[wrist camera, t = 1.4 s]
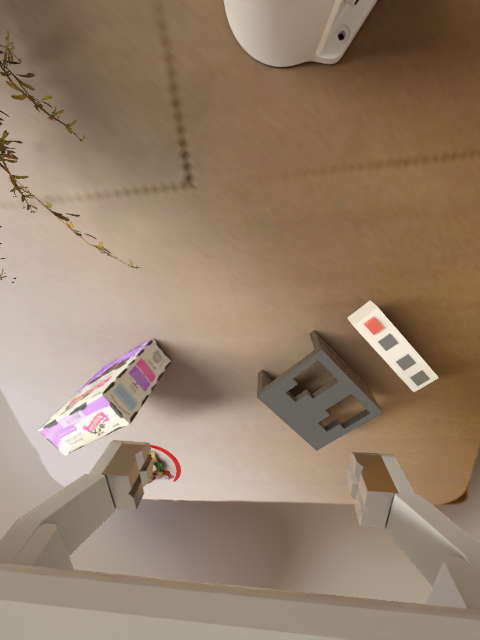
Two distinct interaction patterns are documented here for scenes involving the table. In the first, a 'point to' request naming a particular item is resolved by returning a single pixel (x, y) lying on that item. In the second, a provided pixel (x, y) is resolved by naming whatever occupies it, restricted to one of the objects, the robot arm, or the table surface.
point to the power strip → (392, 346)
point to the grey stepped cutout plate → (317, 397)
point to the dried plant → (2, 148)
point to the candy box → (107, 399)
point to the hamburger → (159, 467)
